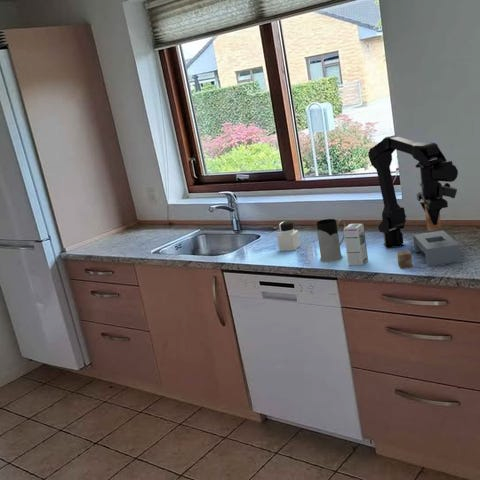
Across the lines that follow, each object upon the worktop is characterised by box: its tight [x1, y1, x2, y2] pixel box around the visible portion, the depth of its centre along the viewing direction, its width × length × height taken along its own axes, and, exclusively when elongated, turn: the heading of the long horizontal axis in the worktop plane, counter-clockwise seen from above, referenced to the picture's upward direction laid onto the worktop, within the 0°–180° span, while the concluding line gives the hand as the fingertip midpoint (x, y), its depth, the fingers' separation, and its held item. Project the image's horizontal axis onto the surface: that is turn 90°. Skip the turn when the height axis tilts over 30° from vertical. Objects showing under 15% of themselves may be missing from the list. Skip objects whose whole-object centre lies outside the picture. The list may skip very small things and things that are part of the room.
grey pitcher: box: [316, 218, 347, 263], centre depth 220 cm, size 9×14×15 cm, turn 126°
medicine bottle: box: [276, 220, 301, 252], centre depth 243 cm, size 7×7×12 cm
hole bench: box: [412, 230, 462, 267], centre depth 202 cm, size 11×20×6 cm, turn 176°
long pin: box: [424, 204, 442, 232], centre depth 199 cm, size 4×4×9 cm
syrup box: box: [343, 222, 369, 266], centre depth 208 cm, size 6×6×14 cm
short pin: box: [396, 249, 413, 270], centre depth 197 cm, size 4×4×5 cm
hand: (433, 223), depth 200 cm, fingers closed on long pin, 4 cm apart
